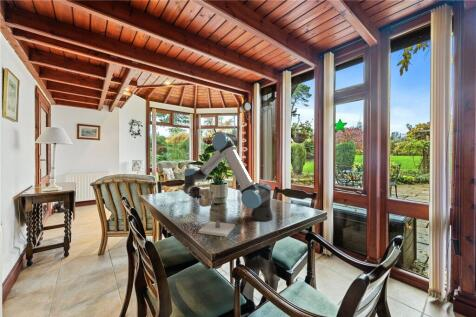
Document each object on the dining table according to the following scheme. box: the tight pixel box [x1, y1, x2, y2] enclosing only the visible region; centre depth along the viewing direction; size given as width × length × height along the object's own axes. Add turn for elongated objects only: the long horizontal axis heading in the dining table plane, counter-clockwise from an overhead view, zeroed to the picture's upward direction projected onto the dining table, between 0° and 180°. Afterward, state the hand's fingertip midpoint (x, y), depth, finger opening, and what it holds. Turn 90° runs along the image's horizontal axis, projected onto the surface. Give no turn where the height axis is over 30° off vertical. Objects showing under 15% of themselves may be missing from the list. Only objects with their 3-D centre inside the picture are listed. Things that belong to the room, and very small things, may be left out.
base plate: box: [198, 220, 236, 238], centre depth 123 cm, size 16×16×5 cm
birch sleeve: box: [198, 188, 213, 208], centre depth 137 cm, size 6×6×10 cm
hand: (208, 197), depth 132 cm, fingers closed on birch sleeve, 6 cm apart
